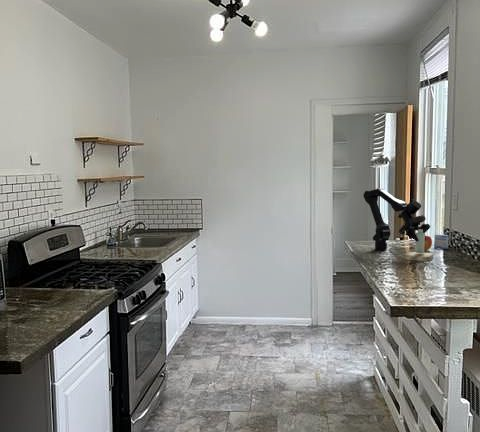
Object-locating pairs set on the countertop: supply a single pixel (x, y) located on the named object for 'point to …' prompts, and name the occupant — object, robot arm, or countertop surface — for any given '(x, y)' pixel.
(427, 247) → the apple
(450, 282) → the countertop surface
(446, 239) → the medicine box
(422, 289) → the countertop surface
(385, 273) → the countertop surface
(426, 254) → the birch pad
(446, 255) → the countertop surface
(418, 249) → the sage bottle
